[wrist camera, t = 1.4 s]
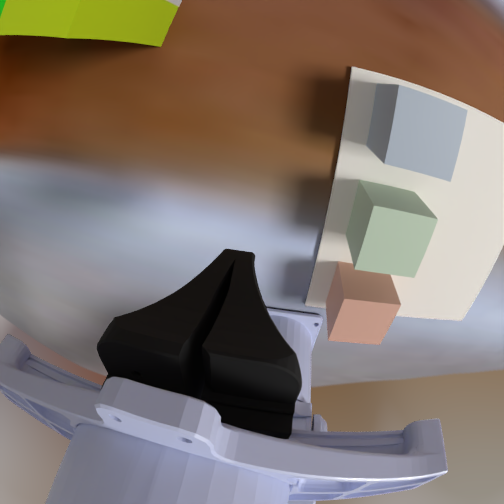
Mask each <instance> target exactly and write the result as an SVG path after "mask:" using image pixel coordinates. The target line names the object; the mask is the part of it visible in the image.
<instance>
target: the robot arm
mask: <svg viewBox="0 0 504 504" xmlns="http://www.w3.org/2000/svg"><path fill="white" fill-rule="evenodd" d="M254 261H255V255H254V253H252V252H245V251H238V250H231V249H225V250H223V252H222V253H221V254H220V255H219V256H218V257H217V258H216V259H215V260H214V261H213V262H212V263H211V264H210V265H209V266H208V267H206V268H205V269H204V270H203V271H202V272H201V273H200V274H199V275H197V276H196V277H195V278H194V279H192V280H191V281H190V282H189V283H187V284H186V285H185V286H183V287H182V288H180V289H179V290H177V291H176V292H174V293H173V294H171V295H169V296H167V297H166V298H164V299H162V300H160V301H158V302H156V303H154V304H152V305H149V306H147V307H145V308H142V309H140V310H137V311H134V312H131V313H128V314H125V315H122V316H118V317H115V318H114V319H113V321H112V322H111V323H110V324H109V326H108V327H107V329H106V331H105V332H104V334H103V336H102V337H101V339H100V341H99V342H98V344H97V351H98V354H99V356H100V358H101V360H102V362H103V364H104V366H105V368H106V370H107V372H108V375H107V377H106V380H105V381H104V383H103V385H102V386H101V385H99V384H96V383H94V382H91V381H89V380H86V379H84V378H81V377H79V376H77V375H74V374H72V373H70V372H67V371H65V370H63V369H61V368H59V367H57V366H54V365H52V364H50V363H48V362H46V361H44V360H42V359H40V358H38V357H36V356H34V355H32V354H31V352H30V351H29V349H28V347H27V346H26V345H25V344H24V343H23V342H22V341H20V340H19V339H17V338H15V337H13V336H12V335H10V334H7V335H6V337H5V338H4V339H3V341H2V342H1V343H0V391H1V392H2V393H3V394H4V395H5V397H6V398H8V400H10V401H11V402H13V403H14V404H15V405H17V406H18V407H20V408H21V409H22V410H24V411H25V412H27V413H28V414H30V415H31V416H33V417H34V418H36V419H37V420H39V421H40V422H42V423H43V424H45V425H46V426H48V427H50V428H51V429H53V430H54V431H56V432H57V433H59V434H61V435H63V436H64V437H66V438H68V439H69V440H71V442H70V444H69V446H68V448H67V451H66V453H65V456H64V458H63V460H62V462H61V465H60V467H59V470H58V472H57V475H56V477H55V480H54V482H53V485H52V487H51V490H50V492H49V495H48V498H47V501H46V503H45V504H315V503H316V501H319V500H336V499H348V498H357V497H365V496H373V495H380V494H386V493H392V492H398V491H404V490H410V489H414V488H416V487H419V486H421V485H423V484H425V483H427V482H429V481H431V480H433V479H435V478H437V477H439V476H441V475H443V474H445V473H447V471H448V468H447V460H446V453H445V447H444V440H443V434H442V430H441V424H440V420H439V419H428V420H419V421H414V422H412V423H410V424H409V425H407V426H406V427H405V428H404V430H396V431H377V432H329V431H327V423H326V421H325V420H324V419H323V418H322V417H321V415H319V414H317V415H313V421H312V428H311V415H312V403H310V397H311V352H312V349H313V347H314V344H315V341H316V338H317V336H318V333H319V330H320V327H321V325H322V322H323V318H322V316H320V315H315V314H307V313H299V312H291V311H284V310H277V309H270V308H266V306H265V304H264V301H263V299H262V296H261V293H260V290H259V287H258V283H257V278H256V274H255V267H254ZM315 323H317V324H315Z"/></svg>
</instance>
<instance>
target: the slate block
mask: <svg viewBox="0 0 504 504" xmlns="http://www.w3.org/2000/svg"><path fill="white" fill-rule="evenodd" d="M467 111H468V110H466V109H464V108H461V107H459V106H457V105H454V104H452V103H449V102H447V101H444V100H442V99H439V98H437V97H434V96H431V95H429V94H426V93H423V92H420V91H417V90H414V89H411V88H408V87H405V86H402V85H397V84H381V83H377V84H376V91H375V98H374V104H373V111H372V117H371V122H370V128H369V134H368V139H367V144H366V146H367V147H368V148H369V149H370V150H371V151H372V152H373V153H374V154H375V155H376V156H377V157H378V158H379V159H380V160H381V161H382V162H383V163H384V164H386V165H391V166H395V167H399V168H403V169H407V170H410V171H414V172H418V173H422V174H425V175H429V176H432V177H436V178H439V179H442V180H446V181H449V182H451V179H452V175H453V172H454V168H455V164H456V161H457V157H458V153H459V149H460V145H461V140H462V136H463V131H464V127H465V122H466V116H467Z"/></svg>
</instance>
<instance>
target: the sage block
mask: <svg viewBox="0 0 504 504" xmlns="http://www.w3.org/2000/svg"><path fill="white" fill-rule="evenodd" d="M437 221H438V218H437V217H436V216H435V215H434V214H433V212H432V211H431V210H430V209H429V208H428V207H427V205H426V204H425V203H424V202H423V201H422V200H421V199H420V197H419V196H418V195H417V194H416V193H415V192H413V191H409V190H405V189H401V188H397V187H392V186H388V185H383V184H379V183H374V182H369V181H364V180H359V182H358V187H357V191H356V195H355V199H354V204H353V208H352V212H351V216H350V220H349V224H348V227H347V231H346V238H347V242H348V246H349V250H350V253H351V257H352V262H353V266H354V270H361V271H368V272H376V273H383V274H390V275H397V276H404V277H411V278H414V277H415V275H416V273H417V271H418V268H419V266H420V264H421V262H422V259H423V257H424V255H425V252H426V250H427V247H428V245H429V242H430V240H431V237H432V235H433V232H434V229H435V227H436V224H437Z"/></svg>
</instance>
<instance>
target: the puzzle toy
mask: <svg viewBox="0 0 504 504" xmlns="http://www.w3.org/2000/svg"><path fill="white" fill-rule="evenodd" d="M181 1H182V0H0V35H34V36H49V37H60V38H81V39H100V40H113V41H123V42H131V43H139V44H146V45H153V46H159V47H161V45H162V43H163V40H164V38H165V36H166V33H167V31H168V29H169V27H170V24H171V22H172V20H173V18H174V16H175V14H176V11H177V9H178V7H179V5H180V3H181Z"/></svg>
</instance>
